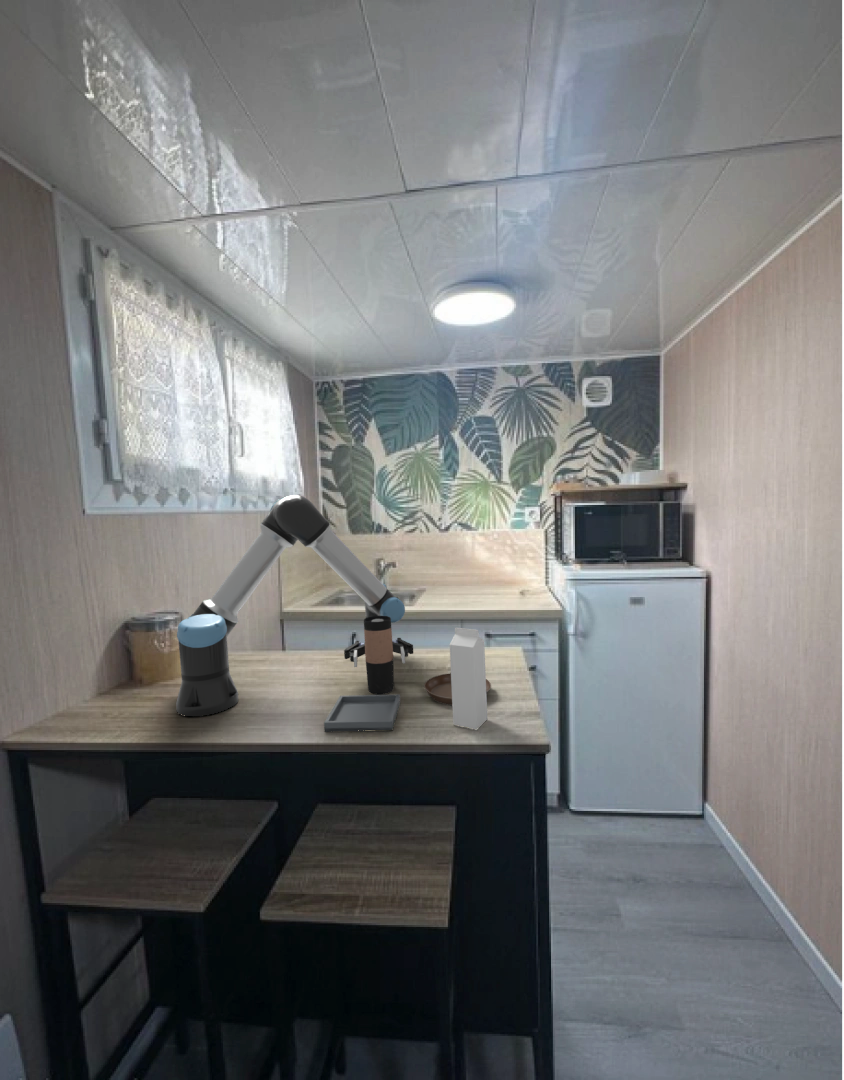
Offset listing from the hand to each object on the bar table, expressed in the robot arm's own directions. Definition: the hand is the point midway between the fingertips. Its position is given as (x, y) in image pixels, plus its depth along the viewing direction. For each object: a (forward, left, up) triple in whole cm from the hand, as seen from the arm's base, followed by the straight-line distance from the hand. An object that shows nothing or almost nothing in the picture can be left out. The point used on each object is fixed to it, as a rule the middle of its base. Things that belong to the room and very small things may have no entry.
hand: (379, 660), depth 130 cm
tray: (+8, -11, -9) cm, 17 cm away
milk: (+29, +4, -10) cm, 31 cm away
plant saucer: (+15, +14, -10) cm, 23 cm away
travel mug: (-3, +2, -10) cm, 10 cm away
